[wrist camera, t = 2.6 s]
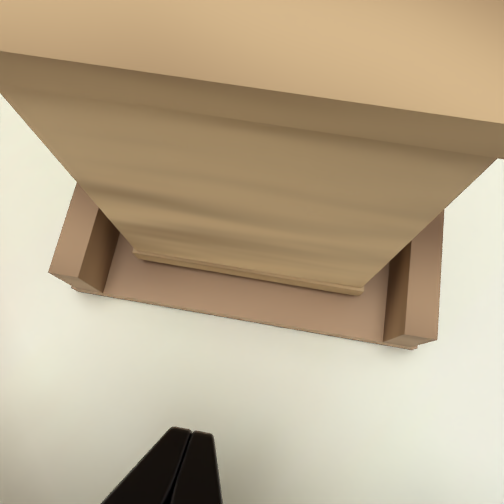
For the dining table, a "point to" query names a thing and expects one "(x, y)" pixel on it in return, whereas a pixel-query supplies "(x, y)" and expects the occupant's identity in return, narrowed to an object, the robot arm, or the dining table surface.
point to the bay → (257, 285)
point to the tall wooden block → (263, 122)
